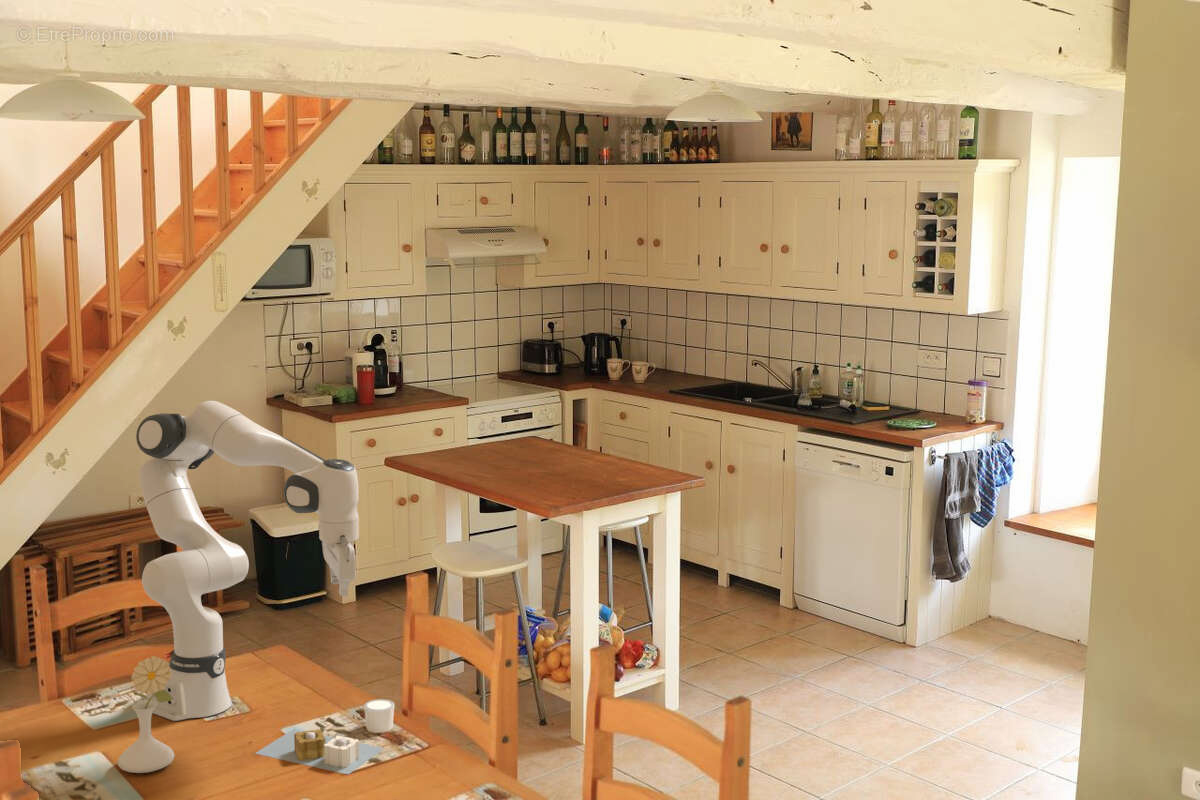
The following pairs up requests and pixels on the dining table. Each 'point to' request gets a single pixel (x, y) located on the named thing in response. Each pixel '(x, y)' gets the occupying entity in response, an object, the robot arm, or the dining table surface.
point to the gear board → (286, 751)
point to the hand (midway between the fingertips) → (339, 589)
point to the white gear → (341, 752)
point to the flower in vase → (148, 718)
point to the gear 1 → (309, 745)
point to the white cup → (379, 715)
